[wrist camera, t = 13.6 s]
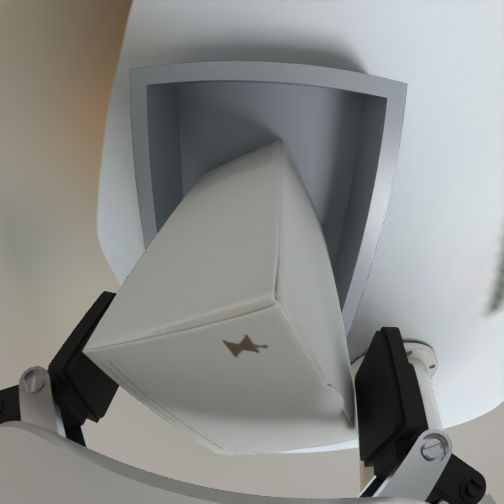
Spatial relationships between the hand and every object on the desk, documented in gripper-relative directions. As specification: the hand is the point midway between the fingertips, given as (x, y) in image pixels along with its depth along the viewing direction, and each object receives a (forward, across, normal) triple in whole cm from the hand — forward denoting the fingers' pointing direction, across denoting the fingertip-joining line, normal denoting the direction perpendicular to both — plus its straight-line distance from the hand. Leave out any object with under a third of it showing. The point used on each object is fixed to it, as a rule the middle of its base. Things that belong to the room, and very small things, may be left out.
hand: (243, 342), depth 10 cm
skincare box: (+13, 0, 0) cm, 13 cm away
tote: (+14, +1, -1) cm, 14 cm away
